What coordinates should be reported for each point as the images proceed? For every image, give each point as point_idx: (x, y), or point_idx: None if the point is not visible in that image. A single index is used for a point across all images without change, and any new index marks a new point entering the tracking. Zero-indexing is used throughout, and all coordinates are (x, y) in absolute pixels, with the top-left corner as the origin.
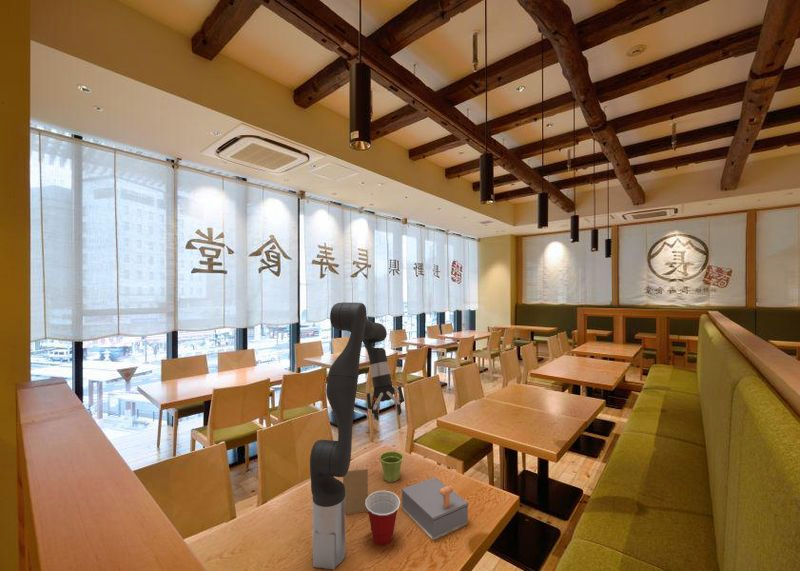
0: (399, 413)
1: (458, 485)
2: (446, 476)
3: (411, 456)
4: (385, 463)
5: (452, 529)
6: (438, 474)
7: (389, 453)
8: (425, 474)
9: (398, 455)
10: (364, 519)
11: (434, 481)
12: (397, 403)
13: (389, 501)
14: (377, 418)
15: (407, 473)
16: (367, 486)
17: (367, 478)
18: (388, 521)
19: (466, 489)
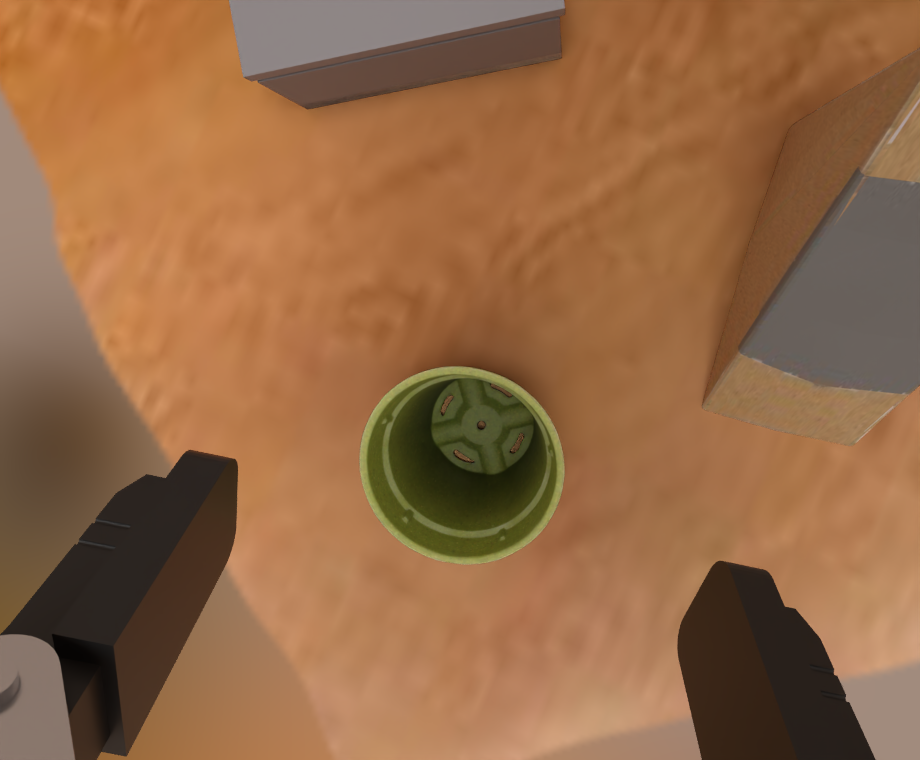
0: (197, 466)
1: (114, 160)
2: (141, 287)
3: (252, 606)
4: (539, 413)
5: None
6: (178, 330)
7: (443, 548)
8: (255, 366)
9: (383, 492)
10: (848, 44)
11: (270, 13)
12: (45, 686)
13: None
14: (756, 578)
15: (360, 429)
16: (867, 80)
17: (904, 57)
18: None
19: (88, 98)
